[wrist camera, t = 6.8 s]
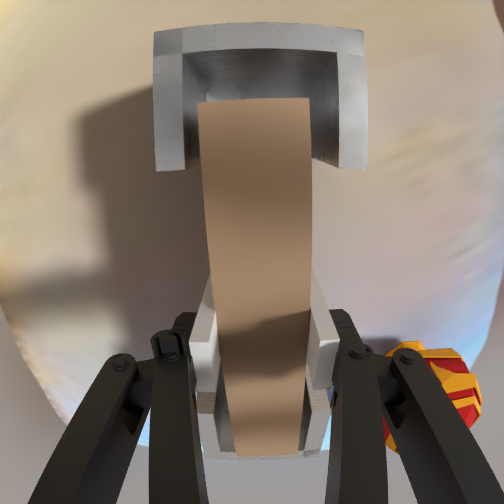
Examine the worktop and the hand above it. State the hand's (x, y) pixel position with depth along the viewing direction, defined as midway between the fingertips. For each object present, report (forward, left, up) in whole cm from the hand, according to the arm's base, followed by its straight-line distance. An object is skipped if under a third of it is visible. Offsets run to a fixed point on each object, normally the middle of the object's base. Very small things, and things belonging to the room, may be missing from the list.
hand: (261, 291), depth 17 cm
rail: (0, 0, -1) cm, 1 cm away
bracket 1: (-10, 0, -6) cm, 12 cm away
